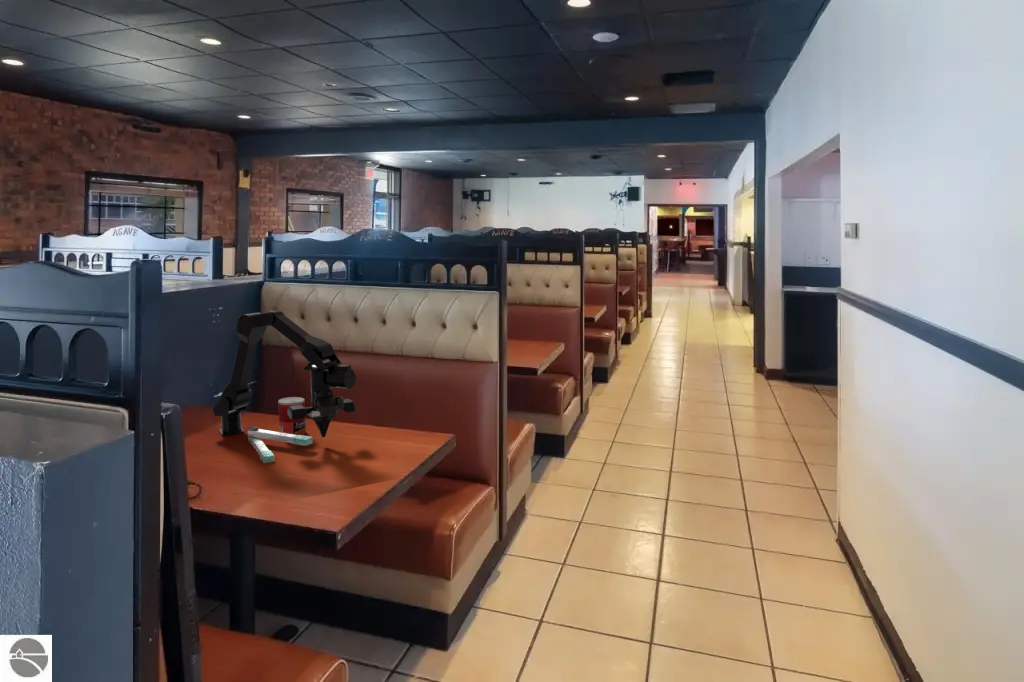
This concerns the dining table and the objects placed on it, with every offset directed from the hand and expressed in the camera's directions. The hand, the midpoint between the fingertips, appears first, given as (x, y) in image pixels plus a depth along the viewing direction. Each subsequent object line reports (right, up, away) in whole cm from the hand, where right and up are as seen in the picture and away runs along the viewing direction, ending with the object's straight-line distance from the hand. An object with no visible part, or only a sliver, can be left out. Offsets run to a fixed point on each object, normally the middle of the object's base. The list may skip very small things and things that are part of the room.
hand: (323, 436), depth 190 cm
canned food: (-13, -1, +11) cm, 17 cm away
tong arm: (-13, -1, -1) cm, 13 cm away
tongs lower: (-17, -3, -5) cm, 18 cm away
